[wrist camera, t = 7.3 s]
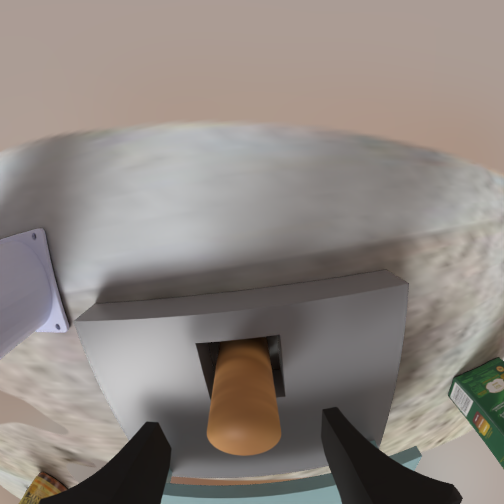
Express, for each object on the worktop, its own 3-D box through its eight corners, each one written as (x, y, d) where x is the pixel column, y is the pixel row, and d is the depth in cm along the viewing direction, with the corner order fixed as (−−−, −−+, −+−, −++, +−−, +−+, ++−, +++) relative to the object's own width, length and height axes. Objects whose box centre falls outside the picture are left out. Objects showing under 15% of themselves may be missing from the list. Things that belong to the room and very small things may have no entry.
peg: (223, 367, 18) (215, 457, 10) (215, 327, 18) (199, 414, 10) (269, 362, 18) (283, 451, 10) (265, 322, 18) (278, 408, 10)
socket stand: (157, 451, 20) (138, 519, 12) (94, 303, 17) (22, 366, 9) (367, 430, 20) (397, 496, 12) (386, 269, 17) (468, 322, 9)
